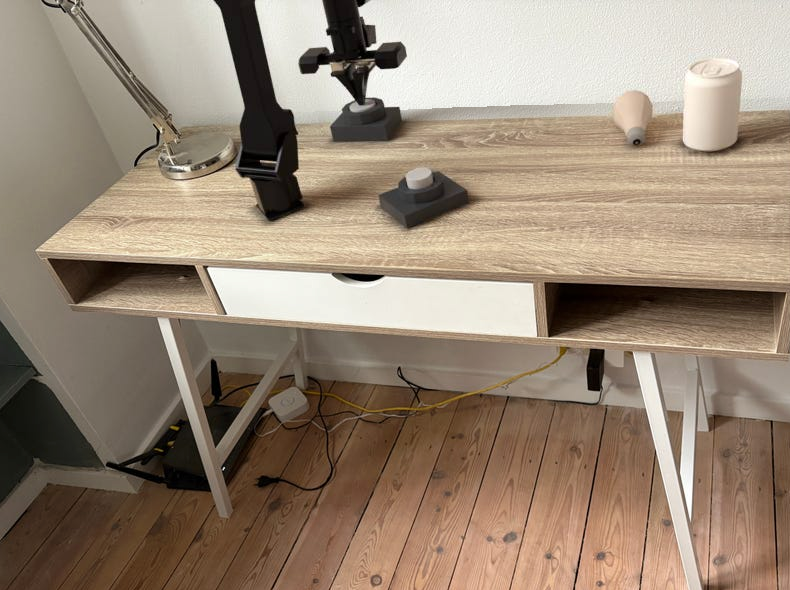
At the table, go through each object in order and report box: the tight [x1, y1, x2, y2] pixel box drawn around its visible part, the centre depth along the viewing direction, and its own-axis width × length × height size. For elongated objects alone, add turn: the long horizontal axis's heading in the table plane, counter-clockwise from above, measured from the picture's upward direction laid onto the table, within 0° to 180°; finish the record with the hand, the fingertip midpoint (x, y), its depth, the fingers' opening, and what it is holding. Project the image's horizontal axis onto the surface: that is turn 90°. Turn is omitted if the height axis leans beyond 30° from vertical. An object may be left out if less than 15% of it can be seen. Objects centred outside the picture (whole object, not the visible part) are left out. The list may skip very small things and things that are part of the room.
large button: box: [350, 99, 376, 112], centre depth 151 cm, size 5×5×2 cm
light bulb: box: [611, 90, 654, 148], centre depth 133 cm, size 7×7×11 cm
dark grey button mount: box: [329, 96, 403, 142], centre depth 152 cm, size 11×8×5 cm
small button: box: [405, 167, 433, 189], centre depth 125 cm, size 4×4×2 cm
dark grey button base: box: [377, 170, 470, 229], centre depth 126 cm, size 11×9×4 cm
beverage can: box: [682, 57, 743, 153], centre depth 125 cm, size 8×8×12 cm
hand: (362, 104), depth 150 cm, fingers closed, pressing on large button
